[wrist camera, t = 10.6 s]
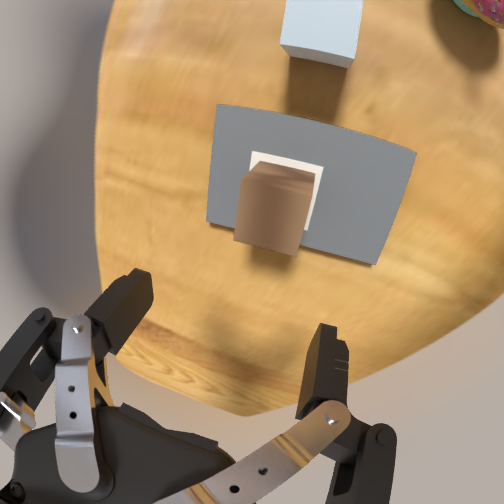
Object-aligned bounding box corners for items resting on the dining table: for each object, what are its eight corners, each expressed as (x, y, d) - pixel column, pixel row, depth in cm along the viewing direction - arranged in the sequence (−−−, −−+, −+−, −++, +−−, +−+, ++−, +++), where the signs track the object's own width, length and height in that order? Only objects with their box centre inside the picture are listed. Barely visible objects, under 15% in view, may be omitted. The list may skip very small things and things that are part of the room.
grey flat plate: (413, 150, 21) (417, 153, 20) (374, 258, 27) (375, 265, 26) (221, 104, 23) (216, 104, 22) (210, 216, 30) (205, 222, 29)
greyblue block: (355, 20, 16) (363, -1, 11) (347, 68, 19) (354, 59, 14) (297, 9, 17) (289, -15, 12) (290, 56, 19) (279, 44, 14)
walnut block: (315, 173, 23) (312, 196, 18) (303, 222, 26) (296, 256, 21) (260, 160, 24) (241, 179, 19) (252, 210, 27) (233, 240, 22)
